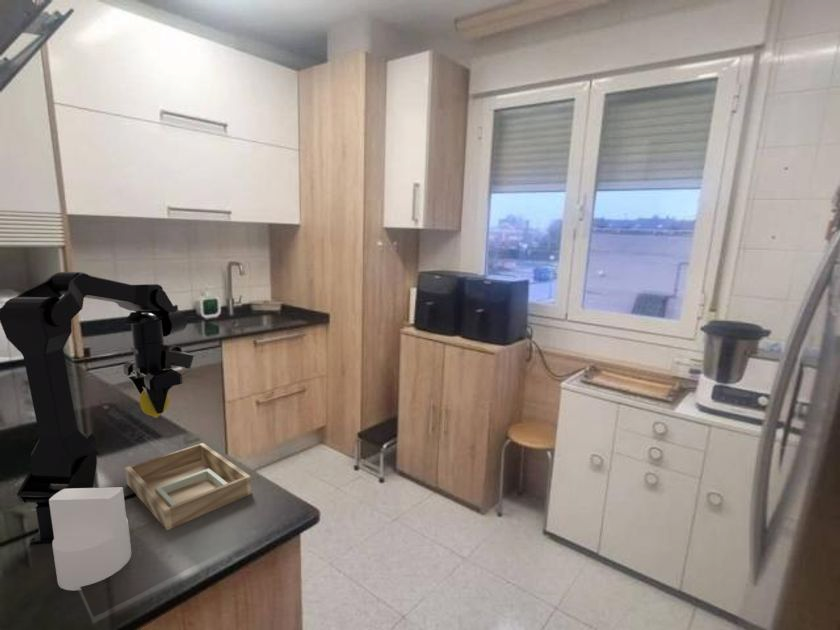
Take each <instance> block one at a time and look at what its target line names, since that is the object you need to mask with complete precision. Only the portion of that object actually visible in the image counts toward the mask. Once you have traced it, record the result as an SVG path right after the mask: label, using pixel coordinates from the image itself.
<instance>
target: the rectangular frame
mask: <svg viewBox="0 0 840 630" xmlns="http://www.w3.org/2000/svg"><path fill="white" fill-rule="evenodd" d="M206 478H208V479H209V480H210V481H212V482H213V483H214V484H215V485H216V486H218V487H220V486H222V485H225V484H227V482H226V481H225V480H223V479H222V478H221V477H219V476H218V475H217V474H216V473H214V472H213V471H212V470H210V469H209V468H208V469H206V470H203V471H200V472H197V473H195V474H192V475H189V476H187V477H184V478H181V479H178V480H176V481H173V482H170V483H167V484H165V485H162V486H159V487H156V488H155V493H156V494H157V495H158V496H159V497H160V499H161V500H162V501H163V502H164V503H165V504H166V505H167V506H168V507H170V506H172V505H175V504H176V503H175V502H174V500H173V499H172V498H171V497H170V496H169V495H168V494H167V493H169V492H171V491H174V490H176V489H179V488H182V487H184V486H187V485H190V484H192V483H195V482H198V481H200V480H203V479H206Z"/></svg>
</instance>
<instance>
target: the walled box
mask: <svg viewBox="0 0 840 630" xmlns="http://www.w3.org/2000/svg"><path fill="white" fill-rule="evenodd" d="M208 468H209V469H210V470H212V471H213V472H214V473H216V474H217V475H218V476H219V477H221V478H222V479H223V480H225V481H226V482H227V484H225V485H222V486H220V487H218V486H216V485H215V484H214V483H213V482H212V481H210V480H209V479H208V478H206V479H203V480H200V481H198V482H195V483H192V484H190V485H187V486H184V487H182V488H179V489H176V490H174V491H171V492H169V493H167V494H168V495H169V496H170V497H171V498H172V499H173V500H174V502H175V503H176V504H175V505H172V506H170V507H168V506H167V505H166V504H165V503H164V502H163V501H162V500H161V499H160V497H159V496H158V495H157V494H156V493H155V488H156V487H159V486H162V485H165V484H167V483H170V482H173V481H176V480H178V479H181V478H184V477H187V476H189V475H192V474H195V473H197V472H200V471H203V470H206V469H208ZM124 469H125V478H126V485H127V486H128V487H129V488H130V489H131V490H132V492H133V493H134V494H135V495H136V496H137V497H138V498H139V500H140V501H141V502H142V504H144V505H145V507H146V508H147V509H148V510H149V511H150V512H151V513H152V515H153V516H154V517H155V518H156V519H157V521H158V522H159V523H160V524H161V525H162V527H163V528H164V529H165V530H166V531H168V530H169V531H170V530H171V529H173V528H176V527H179V526H180V525H183V524H184V523H185V524H186V523H187V522H190V521H192V520H194V519H197V518H199V517H201V516H203V515H205V514H208V513H210V512H212V511H215V510H217V509H219V508H222V507H224V506H226V505H229V504H231V503H233V502H235V501H238V500H240V499H243V498H244V497H247V496H249V495H252V494H253V492H252V490H253V489H252V477H251V475H250V474H248V473H247V472H245V471H244V470H242V469H241V468H239V467H238V466H237V465H235V464H234V463H232V462H231V461H230V460H228V459H227V458H225V457H224V456H223V455H221V454H220V453H219V452H217V451H215V450H213V449H212V448H211V447H209V446H208V444H207V445H206V444H205V443H204V442H200V443H198V444H195V445H192V446H188V447H185V448H182V449H179V450H176V451H173V452H169V453H166V454H164V455H160V456H157V457H154V458H150V459H148V460H144V461H142V462H138V463H135V464H132V465H129V466H126V467H125V468H124Z"/></svg>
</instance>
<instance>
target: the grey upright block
mask: <svg viewBox="0 0 840 630" xmlns="http://www.w3.org/2000/svg"><path fill="white" fill-rule="evenodd" d="M49 505H50V512H51V519H52V526H53V533H54V540H53V541H51V542H52V543H51V544H52V551H53V558H54V559H53V560H54V565H55V566H54V567H55V573H56V581H57V584H58V586H59V588H60V589H63V590H66V591H82V590H83V589H82V587H85V586H89V585H93V584H95V583H99V582H101V581H103V580H106V579H107V578H109V577H110V576H113V575H114V574H115V573H117V572H119V571H121V570H122V569H123V568H124V566H125V565H127V564H128V562H129V561H130V560H131V557H132V546H131V536H130V528H129V520H128V517H127V513H126V503H125V495H124V488H123V487H122V486H121V487H120V486H118V487H116V486H114V487H111V486H110V487H93V488H71V489H63V490H61V491H59V492H58V493H56V494H55V495H53V496H52V497H51V498H50V499H49Z"/></svg>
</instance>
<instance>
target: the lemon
mask: <svg viewBox="0 0 840 630" xmlns="http://www.w3.org/2000/svg"><path fill="white" fill-rule="evenodd" d="M139 396H140V397H139V405H140V408H141V410H142V412H143V413H144V414H145V415H147V416H150V417H153V418H155V419H157V418H159V416H160V415H162V414H164V413H165V412H166V411H167V409H168V407H169V404H170V397H169V396H170V395H169V392H168V393H167V397H166V401H165V406H164V410H163V412H162V413H159V414H157V412H156V411H155V409H154V407H153V405H152V404H151V402H150V400H149V398H148V396H147V394H146V393H145V391H144V390H143V391H142V393H141V395H139Z"/></svg>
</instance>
